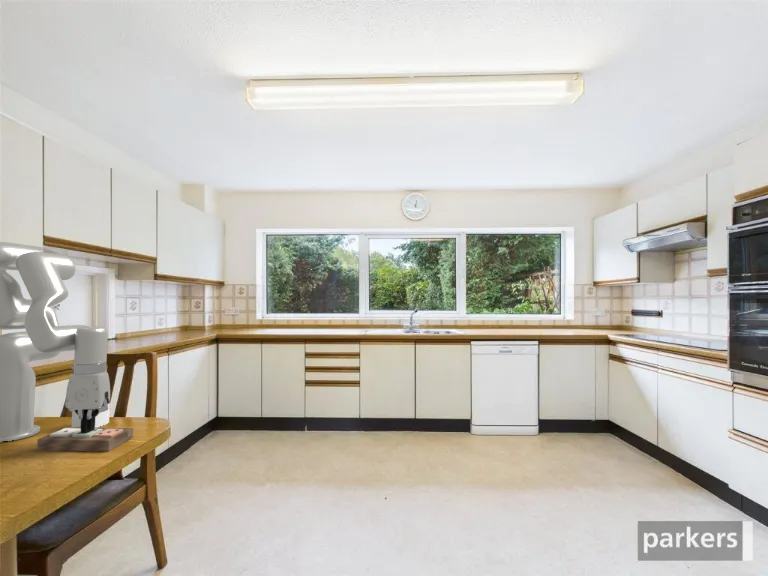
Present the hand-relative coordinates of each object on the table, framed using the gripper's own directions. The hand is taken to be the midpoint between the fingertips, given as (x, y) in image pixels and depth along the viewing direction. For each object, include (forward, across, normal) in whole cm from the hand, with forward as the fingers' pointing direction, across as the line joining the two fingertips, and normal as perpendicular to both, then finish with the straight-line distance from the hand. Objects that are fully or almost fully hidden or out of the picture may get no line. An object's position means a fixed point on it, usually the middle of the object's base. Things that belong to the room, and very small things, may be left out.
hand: (87, 431), depth 108 cm
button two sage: (+3, 0, 0) cm, 3 cm away
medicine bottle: (+4, -10, +14) cm, 18 cm away
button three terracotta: (+3, +6, 0) cm, 7 cm away
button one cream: (+3, -6, 0) cm, 7 cm away
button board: (+4, 0, 0) cm, 4 cm away
